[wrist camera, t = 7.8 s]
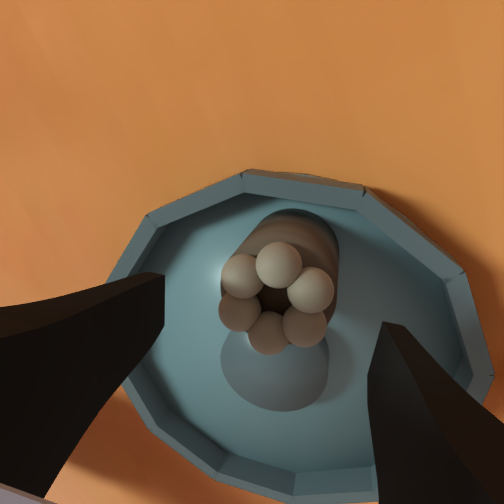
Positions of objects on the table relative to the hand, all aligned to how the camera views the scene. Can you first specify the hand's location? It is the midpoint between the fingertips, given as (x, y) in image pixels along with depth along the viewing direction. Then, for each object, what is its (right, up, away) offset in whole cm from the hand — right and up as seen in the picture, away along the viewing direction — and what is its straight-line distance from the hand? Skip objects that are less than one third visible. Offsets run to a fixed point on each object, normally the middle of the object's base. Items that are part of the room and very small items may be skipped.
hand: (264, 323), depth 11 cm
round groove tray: (+1, -3, +9) cm, 9 cm away
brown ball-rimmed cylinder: (+2, +2, +6) cm, 6 cm away
